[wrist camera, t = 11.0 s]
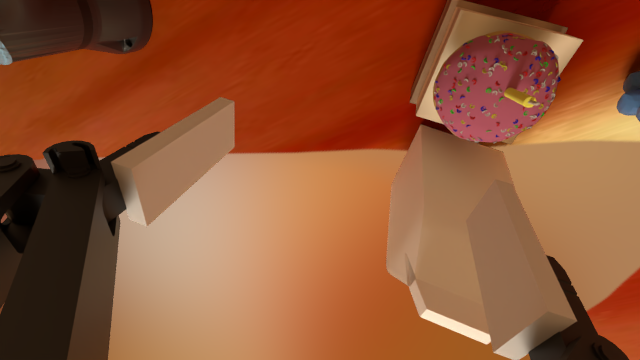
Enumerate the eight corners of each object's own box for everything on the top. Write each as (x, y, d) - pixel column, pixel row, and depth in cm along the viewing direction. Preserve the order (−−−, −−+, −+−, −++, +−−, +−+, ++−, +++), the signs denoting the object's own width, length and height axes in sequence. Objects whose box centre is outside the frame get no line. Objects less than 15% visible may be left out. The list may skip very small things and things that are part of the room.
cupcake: (543, 14, 23) (590, 2, 13) (549, 117, 25) (592, 168, 16) (431, 51, 27) (406, 61, 18) (446, 135, 30) (430, 183, 20)
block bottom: (411, 88, 40) (409, 102, 35) (448, -4, 33) (452, -3, 28) (491, 112, 38) (500, 130, 33) (546, 21, 32) (568, 27, 27)
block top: (416, 101, 34) (415, 115, 30) (456, 6, 28) (461, 9, 25) (500, 125, 33) (511, 144, 29) (560, 32, 27) (583, 40, 23)
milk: (503, 151, 40) (584, 323, 20) (461, 209, 47) (488, 380, 27) (420, 124, 42) (416, 258, 21) (391, 183, 49) (367, 328, 28)
